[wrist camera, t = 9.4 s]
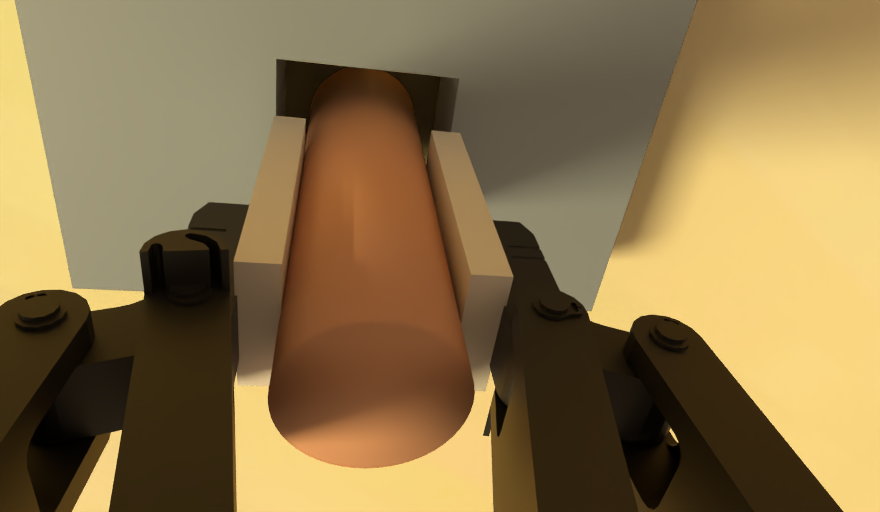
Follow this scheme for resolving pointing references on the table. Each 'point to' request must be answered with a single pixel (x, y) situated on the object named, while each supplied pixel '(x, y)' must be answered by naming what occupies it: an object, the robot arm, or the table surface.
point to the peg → (367, 289)
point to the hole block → (354, 45)
